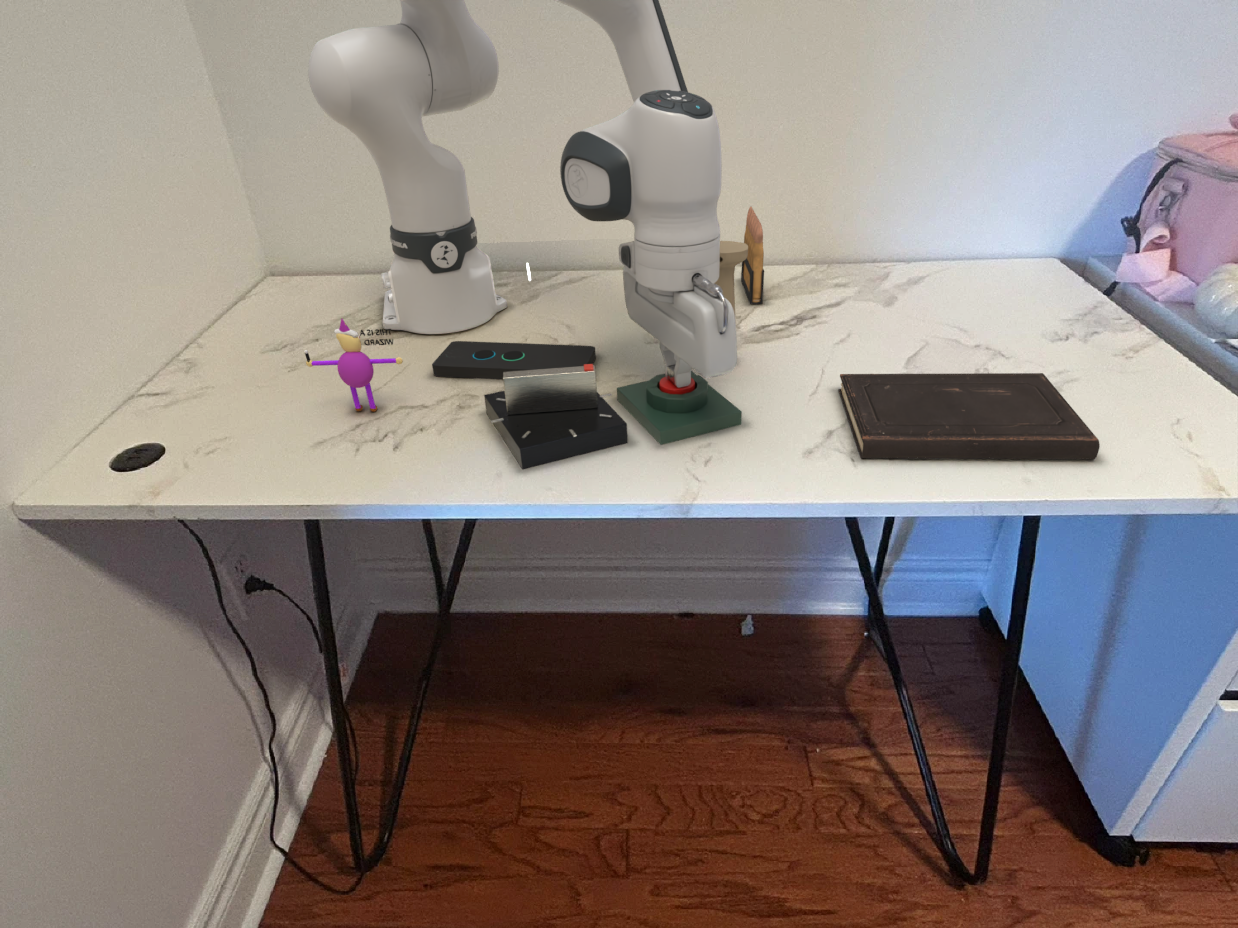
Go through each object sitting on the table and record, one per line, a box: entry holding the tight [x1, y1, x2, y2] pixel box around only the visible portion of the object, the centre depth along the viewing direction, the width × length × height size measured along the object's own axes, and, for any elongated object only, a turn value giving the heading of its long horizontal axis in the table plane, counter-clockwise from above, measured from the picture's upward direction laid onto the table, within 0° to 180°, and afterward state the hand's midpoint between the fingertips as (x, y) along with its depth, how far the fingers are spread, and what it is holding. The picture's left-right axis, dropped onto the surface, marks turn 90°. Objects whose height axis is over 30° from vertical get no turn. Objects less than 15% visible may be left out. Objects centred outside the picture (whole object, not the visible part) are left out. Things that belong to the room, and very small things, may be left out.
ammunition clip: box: [740, 206, 765, 305], centre depth 125 cm, size 11×2×12 cm, turn 0°
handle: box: [714, 240, 748, 316], centre depth 103 cm, size 5×6×15 cm
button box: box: [616, 370, 743, 446], centre depth 94 cm, size 12×10×4 cm
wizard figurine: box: [303, 317, 404, 413], centre depth 95 cm, size 11×3×12 cm, turn 89°
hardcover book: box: [838, 372, 1101, 460], centre depth 90 cm, size 16×23×2 cm
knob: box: [502, 363, 598, 415], centre depth 91 cm, size 10×2×5 cm, turn 95°
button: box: [659, 377, 695, 394], centre depth 94 cm, size 4×4×2 cm
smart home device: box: [431, 340, 597, 381], centre depth 107 cm, size 8×2×20 cm
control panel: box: [483, 390, 628, 470], centre depth 93 cm, size 14×14×3 cm
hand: (677, 382), depth 93 cm, fingers closed, pressing on button
